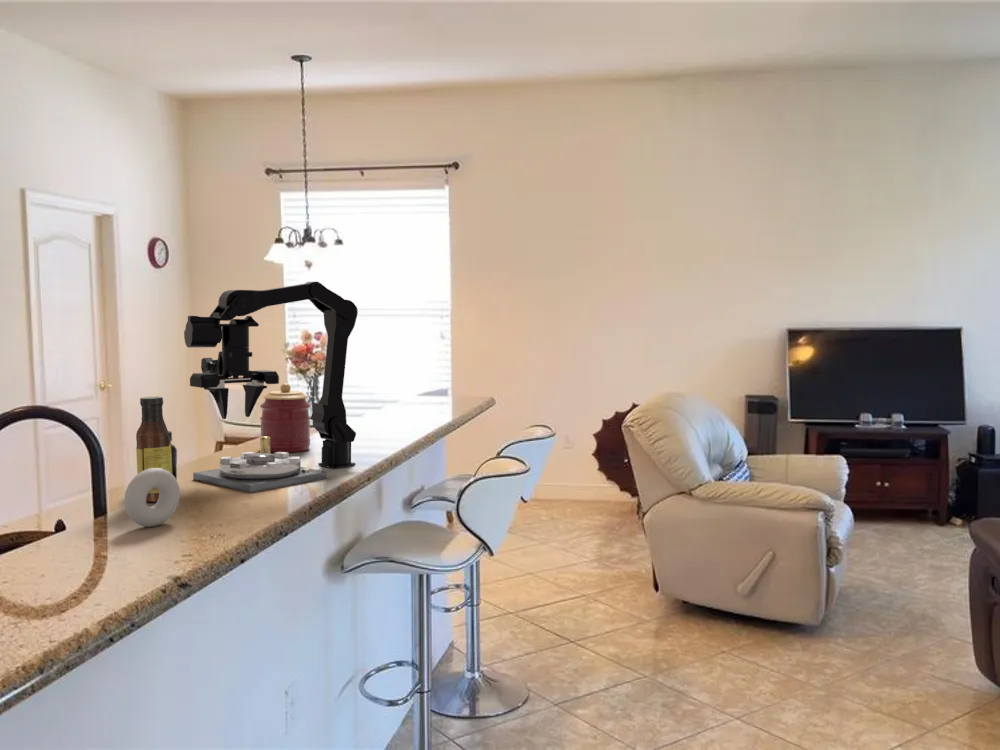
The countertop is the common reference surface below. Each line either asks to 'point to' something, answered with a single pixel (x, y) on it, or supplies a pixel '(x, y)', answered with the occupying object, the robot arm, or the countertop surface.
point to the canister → (286, 420)
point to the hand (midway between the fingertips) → (235, 417)
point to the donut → (139, 491)
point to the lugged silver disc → (260, 464)
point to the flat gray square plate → (259, 480)
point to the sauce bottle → (153, 441)
